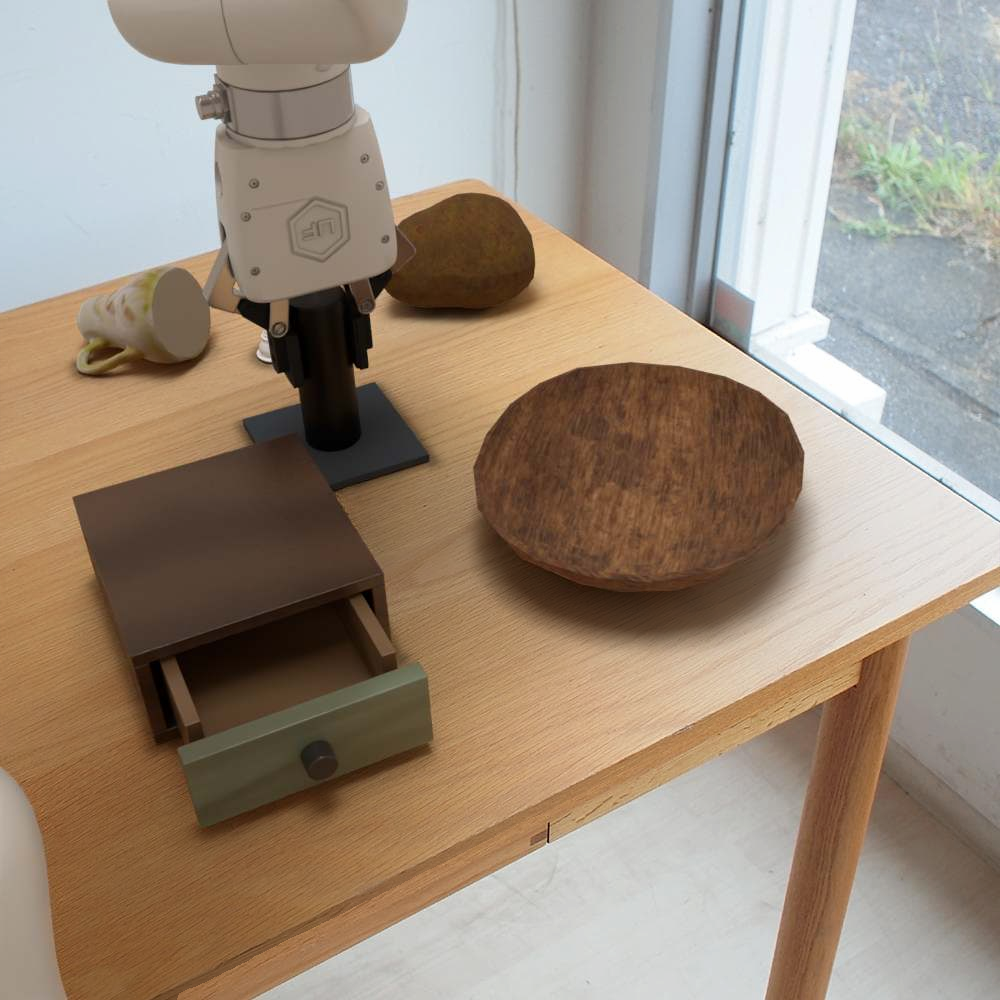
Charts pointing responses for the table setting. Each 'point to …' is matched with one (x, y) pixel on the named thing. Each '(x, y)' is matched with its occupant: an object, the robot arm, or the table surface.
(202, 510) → the cabinet
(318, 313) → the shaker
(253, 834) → the table surface
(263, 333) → the chess pawn
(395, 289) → the potato
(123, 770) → the table surface
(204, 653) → the drawer
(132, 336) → the mug
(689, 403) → the bowl
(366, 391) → the mat
